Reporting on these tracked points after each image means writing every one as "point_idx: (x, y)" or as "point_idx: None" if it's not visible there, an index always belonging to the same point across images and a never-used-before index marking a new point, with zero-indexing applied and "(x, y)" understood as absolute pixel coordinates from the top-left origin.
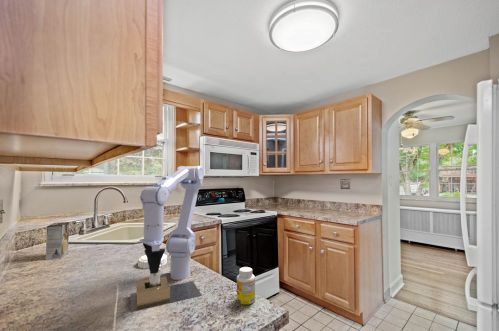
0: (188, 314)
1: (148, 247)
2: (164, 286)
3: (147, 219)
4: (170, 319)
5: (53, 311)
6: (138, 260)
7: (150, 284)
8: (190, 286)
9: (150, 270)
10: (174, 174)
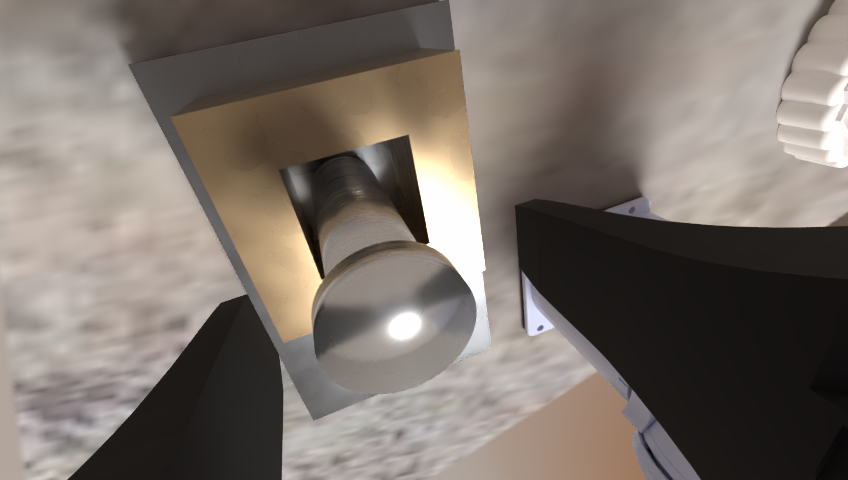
0: (151, 388)
1: (736, 336)
2: (301, 305)
3: None
4: (92, 319)
5: None
6: None
7: (327, 207)
8: None
9: (202, 331)
10: None
